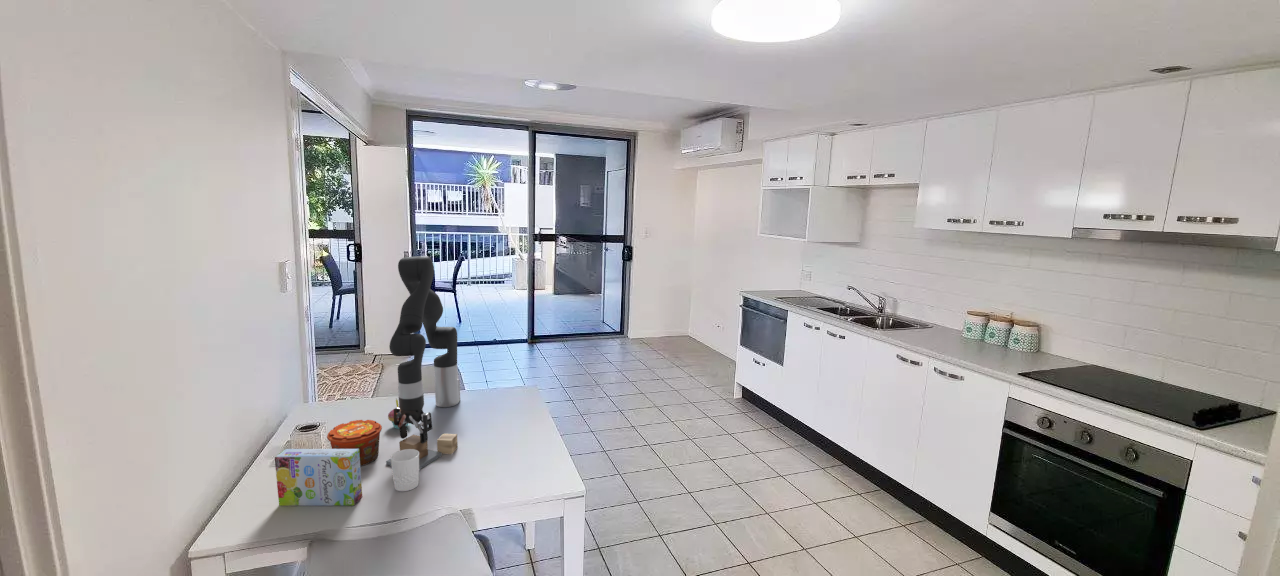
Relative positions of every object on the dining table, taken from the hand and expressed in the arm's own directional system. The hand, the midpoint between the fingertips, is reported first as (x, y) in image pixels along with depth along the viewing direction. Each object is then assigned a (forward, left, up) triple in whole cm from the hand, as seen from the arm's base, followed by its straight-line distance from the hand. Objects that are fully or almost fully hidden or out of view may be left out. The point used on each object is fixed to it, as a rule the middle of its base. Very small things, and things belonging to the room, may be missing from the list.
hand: (413, 440), depth 176 cm
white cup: (+13, +10, -7) cm, 18 cm away
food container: (+7, -18, -7) cm, 21 cm away
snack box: (+29, -6, -7) cm, 31 cm away
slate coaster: (0, 0, -7) cm, 7 cm away
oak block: (-10, +5, -7) cm, 13 cm away
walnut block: (0, 0, -6) cm, 6 cm away
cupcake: (-18, -25, -7) cm, 31 cm away
